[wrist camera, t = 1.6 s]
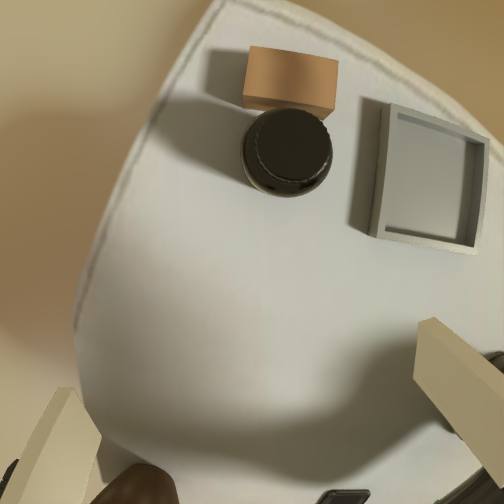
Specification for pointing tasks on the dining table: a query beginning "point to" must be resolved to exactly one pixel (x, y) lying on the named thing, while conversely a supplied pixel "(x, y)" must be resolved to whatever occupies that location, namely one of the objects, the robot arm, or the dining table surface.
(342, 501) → the phone
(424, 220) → the tray
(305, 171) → the supplement bottle
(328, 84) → the block
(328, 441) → the dining table surface
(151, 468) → the plant pot
